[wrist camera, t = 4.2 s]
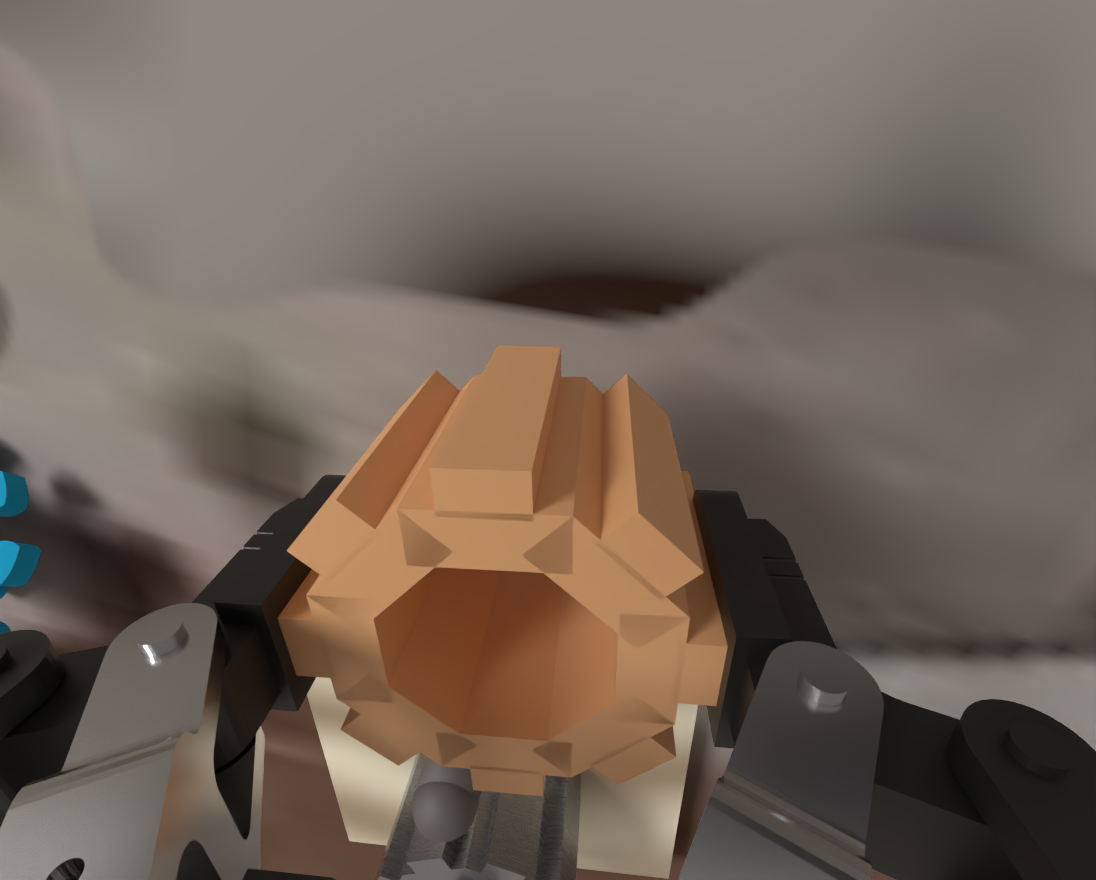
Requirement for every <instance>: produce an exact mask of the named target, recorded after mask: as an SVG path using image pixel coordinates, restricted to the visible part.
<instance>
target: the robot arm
mask: <svg viewBox="0 0 1096 880" xmlns="http://www.w3.org/2000/svg"><path fill="white" fill-rule="evenodd" d="M345 477H346V476H345V475H325V476H323V477H322V478H321V479H320V480H319V481H318V482H317V484H316V485H315V486H314V487H313V488H312V489H311V491H310V492H309V493H308V494H307V495H306V496H305V497H304V499H300V498H297V499H296V500H294V501H293V502H291V503H289V504H288V505H286V506H284V507H283V508H281V509H280V510H278V511H276V512H275V513H273V514H272V516H271V517H270V518H269V519H268V520H267V521H266V522H265V523H264V524H263V525H262V526H261V528H260V529H259V530H258V531H257V535H253V536H252V537H251V538H250V540H249V541H248V542H247V543H246V544H245V545H244V549H243V550H240V551H239V552H238V553H237V554H236V555H235V556H234V557H233V558H232V559H231V560H230V561H229V563H228V564H227V565H226V566H225V567H224V568H223V569H222V570H221V571H220V572H219V573H218V575H217V576H216V577H215V578H214V579H213V580H212V581H211V582H210V583H209V584H208V585H207V587H206V588H205V589H204V590H203V591H202V592H201V593H200V594H199V595H198V596H197V598H196V599H195V600H194V601H193V602H192V603H182V604H176V605H171V606H168V607H165V608H162V609H159V610H157V611H154V612H152V613H150V614H148V615H146V616H144V617H142V618H140V619H139V620H137V621H135V622H134V623H132V624H131V625H129V626H128V627H127V628H126V629H124V630H123V631H122V632H121V633H120V634H119V635H118V636H117V637H116V638H115V639H114V640H113V642H112V643H111V644H110V646H104V647H99V648H93V649H88V650H83V651H77V652H72V653H66V654H61V655H58V653H57V652H56V650H55V649H54V647H53V645H52V644H51V642H50V640H49V639H48V637H47V636H46V635H45V634H44V633H42V632H39V631H36V630H18V631H12V632H8V633H4V634H0V880H335V879H333V878H331V877H321V876H312V875H303V874H294V873H285V872H275V871H266V870H262V869H261V861H260V833H261V812H262V790H263V768H264V746H265V738H264V733H263V730H262V727H261V724H262V723H263V721H264V719H265V718H266V716H267V714H268V713H269V711H270V709H274V710H286V711H298V710H299V708H300V706H301V704H302V702H303V701H304V699H305V697H306V695H307V693H308V692H309V690H310V688H311V686H312V684H313V682H314V681H315V679H316V677H309V676H297V675H296V672H295V669H294V666H293V663H292V660H291V657H290V654H289V651H288V648H287V645H286V642H285V639H284V636H283V633H282V630H281V627H280V624H279V621H278V617H279V615H280V614H281V612H282V611H283V610H284V608H285V607H286V605H287V604H288V602H289V601H290V600H291V598H292V597H293V595H294V594H295V593H296V591H297V590H298V588H299V587H300V585H301V584H302V583H303V581H304V580H305V578H306V577H307V575H308V574H309V573H310V571H311V570H312V569H311V568H310V567H308V566H307V565H306V564H304V563H303V562H301V561H300V560H299V559H297V558H296V557H294V556H293V555H291V554H290V553H289V552H287V550H288V548H289V547H290V546H291V545H292V543H293V542H294V541H295V540H296V538H297V537H298V536H299V535H300V533H301V532H302V531H303V530H304V528H305V527H306V526H307V525H308V523H309V522H310V521H311V520H312V518H313V517H314V516H315V515H316V513H317V512H318V511H319V510H320V508H321V507H322V506H323V505H324V503H325V502H326V501H327V499H328V498H329V497H330V496H331V494H332V493H333V492H334V491H335V489H336V488H337V487H338V486H339V484H340V483H341V482H342V481H343V479H344V478H345ZM693 503H694V508H695V512H696V516H697V520H698V524H699V528H700V533H701V537H702V541H703V545H704V549H705V554H706V558H707V562H708V566H709V570H710V574H711V579H712V583H713V587H714V591H715V595H716V600H717V604H718V608H719V612H720V616H721V621H722V625H723V629H724V633H725V637H726V641H727V646H728V648H727V653H726V658H725V663H724V668H723V674H722V679H721V684H720V689H719V694H718V699H717V705H716V706H707V708H708V714H709V720H710V725H711V731H712V736H713V742H714V747H724V748H734V749H733V752H732V754H731V757H730V760H729V762H728V765H727V768H726V770H725V773H724V775H723V777H722V778H719V779H718V780H717V782H716V784H715V787H714V789H713V791H712V793H711V796H710V798H709V801H708V804H707V806H706V809H705V811H704V814H703V817H702V819H701V822H700V824H699V827H698V830H697V832H696V835H695V837H694V840H693V843H692V845H691V848H690V850H689V853H688V856H687V858H686V861H685V863H684V866H683V869H682V871H681V874H680V877H679V879H678V880H872V869H874V870H876V871H879V872H881V873H883V874H886V875H888V876H890V877H893V878H895V879H897V880H1096V751H1095V750H1094V749H1093V748H1092V747H1091V746H1090V745H1089V744H1087V743H1086V742H1085V741H1084V740H1083V739H1082V738H1081V737H1079V736H1078V735H1077V734H1076V733H1074V732H1073V731H1072V730H1070V729H1069V728H1067V727H1066V726H1065V725H1063V724H1062V723H1060V722H1058V721H1056V720H1055V719H1053V718H1051V717H1050V716H1048V715H1046V714H1044V713H1042V712H1040V711H1037V710H1035V709H1032V708H1030V707H1027V706H1025V705H1021V704H1018V703H1015V702H1010V701H1005V700H995V699H989V700H981V701H978V702H975V703H973V704H971V705H970V706H968V707H967V709H966V710H965V711H964V713H963V715H962V717H961V719H960V720H958V719H955V718H952V717H949V716H946V715H943V714H940V713H937V712H934V711H931V710H928V709H924V708H921V707H918V706H915V705H912V704H909V703H906V702H903V701H901V700H898V699H895V698H893V697H891V696H889V695H887V694H885V693H883V692H881V691H880V689H879V686H878V685H877V683H876V681H875V680H874V678H873V677H872V676H871V675H870V674H869V672H868V671H867V670H866V669H865V668H864V667H863V666H861V665H860V664H859V663H858V662H857V661H855V660H854V659H853V658H851V657H850V656H848V655H846V654H845V653H843V652H841V651H839V650H837V649H836V646H835V644H834V642H833V640H832V638H831V636H830V633H829V631H828V629H827V627H826V625H825V622H824V620H823V618H822V616H821V614H820V611H819V609H818V607H817V605H816V603H815V600H814V598H813V596H812V594H811V592H810V589H809V587H808V585H807V583H806V581H804V580H803V574H802V572H801V570H800V567H799V565H798V563H796V562H795V556H794V554H793V552H792V550H791V548H790V546H789V543H788V541H787V539H786V537H785V536H783V535H782V534H781V533H780V532H779V531H778V530H777V529H776V528H775V527H774V526H773V525H772V524H770V523H769V522H768V521H767V520H765V519H747V516H746V513H745V511H744V508H743V505H742V503H741V500H740V497H739V495H738V493H737V492H735V491H710V490H696V491H695V493H694V496H693Z"/></svg>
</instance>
